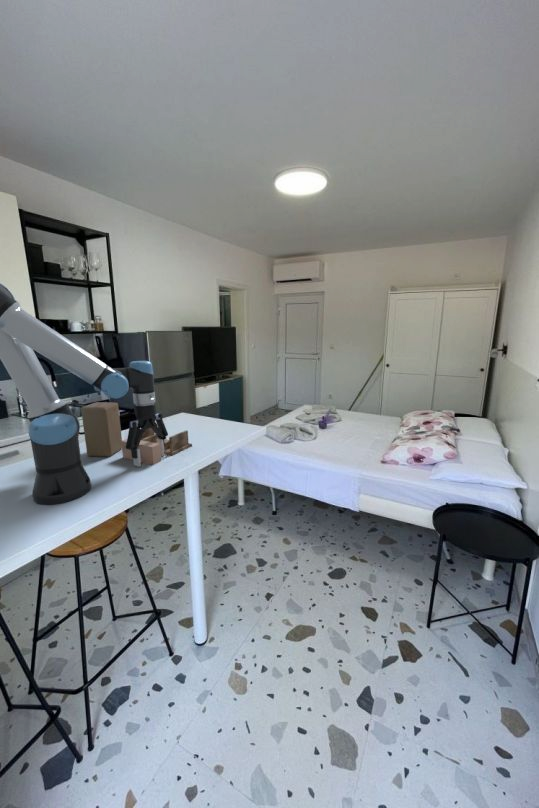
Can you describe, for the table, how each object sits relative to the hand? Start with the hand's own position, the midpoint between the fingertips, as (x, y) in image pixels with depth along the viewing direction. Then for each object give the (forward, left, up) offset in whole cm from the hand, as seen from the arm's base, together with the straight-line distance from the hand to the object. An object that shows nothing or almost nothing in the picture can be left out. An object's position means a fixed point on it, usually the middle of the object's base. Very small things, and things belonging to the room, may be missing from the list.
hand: (149, 460), depth 126 cm
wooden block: (-1, +23, 0) cm, 23 cm away
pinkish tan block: (0, +4, 0) cm, 4 cm away
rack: (+14, +7, 0) cm, 16 cm away
